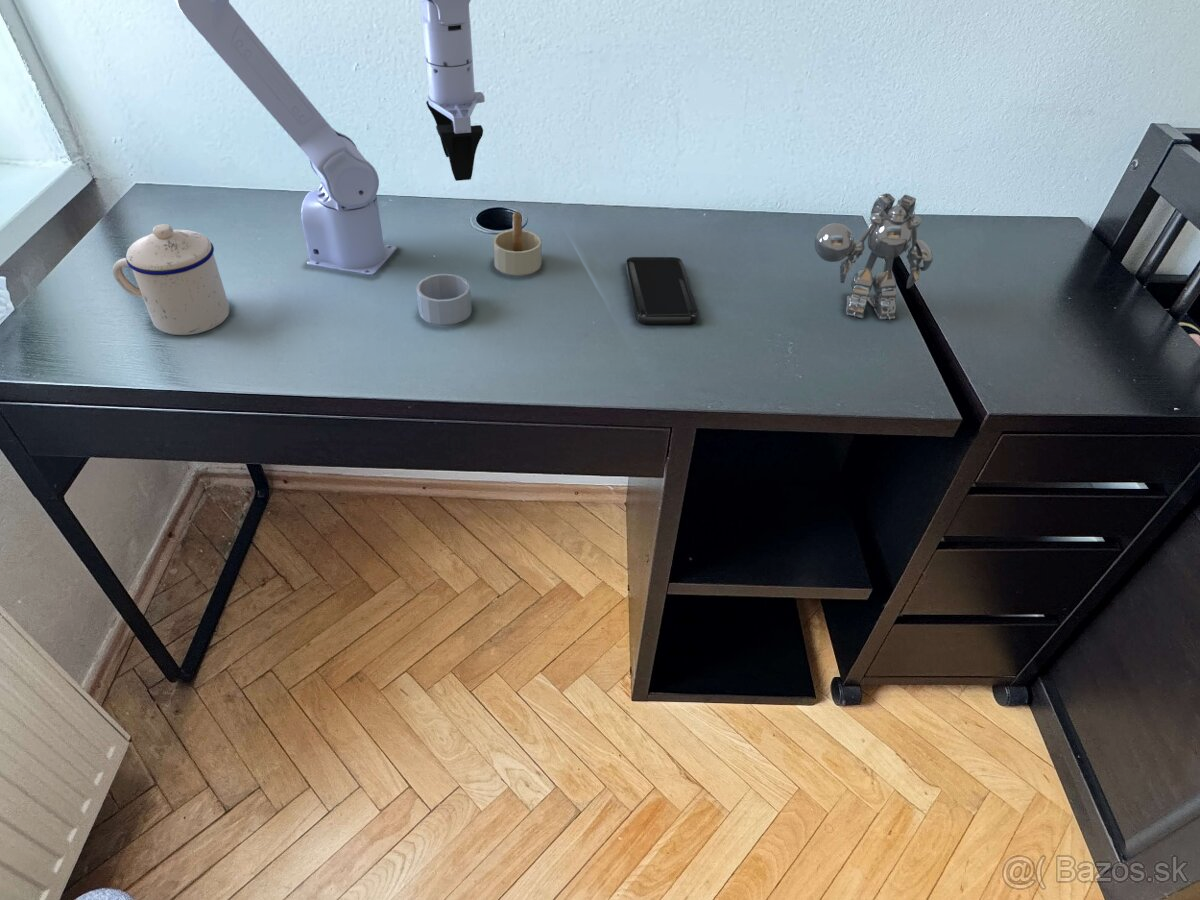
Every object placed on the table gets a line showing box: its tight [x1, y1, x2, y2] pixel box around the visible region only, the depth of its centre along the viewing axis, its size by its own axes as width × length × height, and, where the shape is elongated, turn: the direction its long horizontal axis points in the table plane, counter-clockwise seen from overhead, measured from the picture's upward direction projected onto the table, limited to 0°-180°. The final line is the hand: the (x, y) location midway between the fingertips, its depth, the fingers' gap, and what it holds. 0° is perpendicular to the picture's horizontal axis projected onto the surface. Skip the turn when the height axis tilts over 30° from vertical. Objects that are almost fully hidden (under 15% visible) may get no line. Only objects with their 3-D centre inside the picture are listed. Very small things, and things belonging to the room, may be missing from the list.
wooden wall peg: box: [512, 211, 523, 251], centre depth 107 cm, size 3×2×7 cm
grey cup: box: [416, 273, 473, 326], centre depth 99 cm, size 6×6×4 cm
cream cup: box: [492, 229, 543, 276], centre depth 108 cm, size 6×6×4 cm
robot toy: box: [814, 192, 933, 320], centre depth 101 cm, size 15×6×15 cm, turn 87°
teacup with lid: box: [112, 223, 231, 336], centre depth 93 cm, size 12×9×12 cm
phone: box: [625, 256, 699, 325], centre depth 106 cm, size 8×1×15 cm
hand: (458, 167), depth 108 cm, fingers open, 7 cm apart
